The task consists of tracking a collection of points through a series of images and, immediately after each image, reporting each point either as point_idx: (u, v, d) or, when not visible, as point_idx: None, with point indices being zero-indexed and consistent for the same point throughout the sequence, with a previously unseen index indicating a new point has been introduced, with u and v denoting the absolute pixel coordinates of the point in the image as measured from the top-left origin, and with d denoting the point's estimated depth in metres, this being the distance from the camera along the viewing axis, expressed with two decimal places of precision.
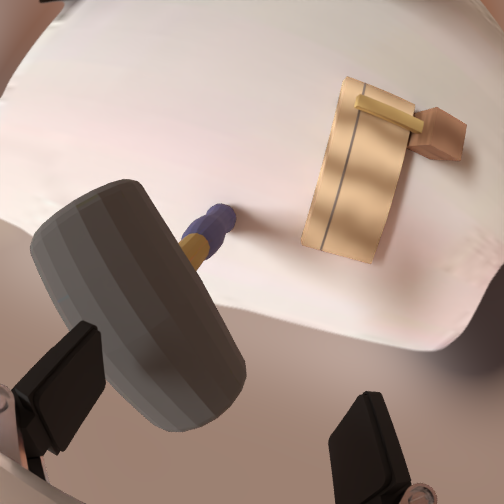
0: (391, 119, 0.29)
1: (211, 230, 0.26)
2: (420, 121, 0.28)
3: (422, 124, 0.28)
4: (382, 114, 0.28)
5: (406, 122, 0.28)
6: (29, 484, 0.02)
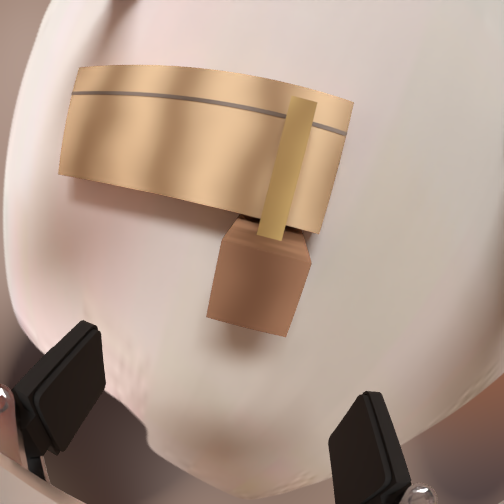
0: (274, 166, 0.17)
1: None
2: (280, 232, 0.18)
3: (275, 237, 0.18)
4: (281, 144, 0.16)
5: (272, 199, 0.17)
6: (29, 484, 0.02)
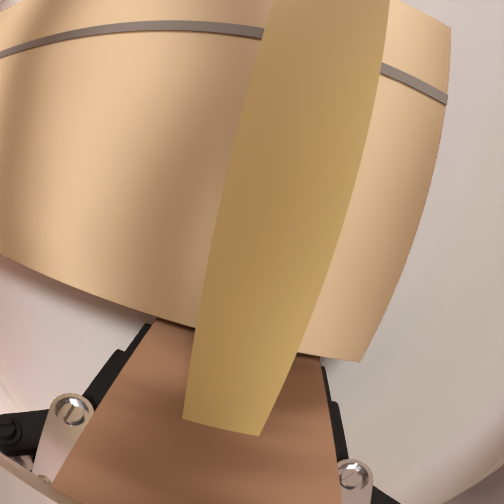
0: None
1: None
2: (254, 421, 0.05)
3: (239, 429, 0.05)
4: (255, 94, 0.03)
5: (221, 333, 0.04)
6: (29, 484, 0.02)
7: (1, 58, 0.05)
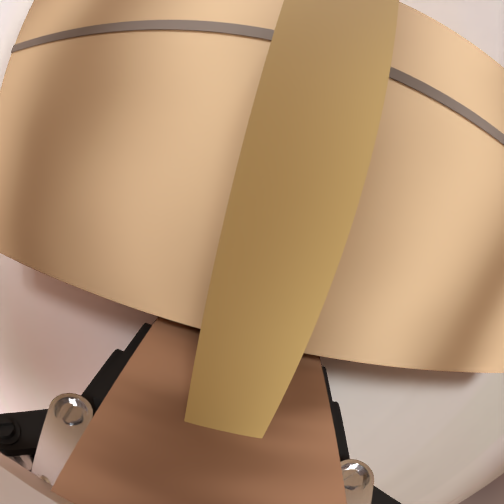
0: None
1: None
2: (258, 423, 0.05)
3: (242, 431, 0.05)
4: (265, 91, 0.03)
5: (227, 334, 0.04)
6: (29, 484, 0.02)
7: (250, 38, 0.05)
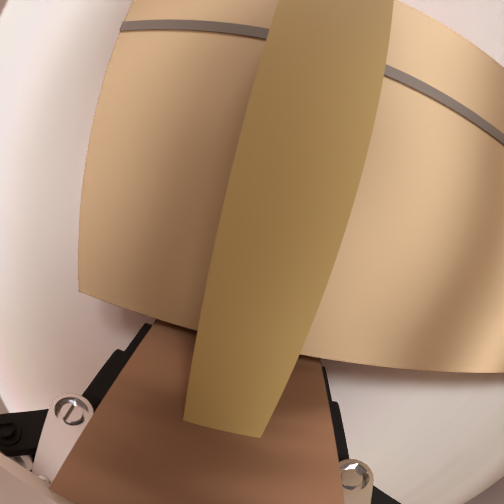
0: None
1: None
2: (256, 422, 0.05)
3: (241, 430, 0.05)
4: (260, 92, 0.03)
5: (224, 333, 0.04)
6: (29, 484, 0.02)
7: (453, 111, 0.05)
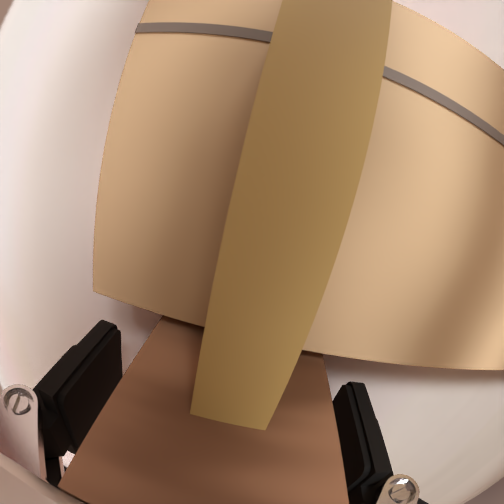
0: None
1: None
2: (261, 415, 0.05)
3: (246, 422, 0.05)
4: (265, 97, 0.03)
5: (231, 328, 0.04)
6: (29, 484, 0.02)
7: (460, 117, 0.05)
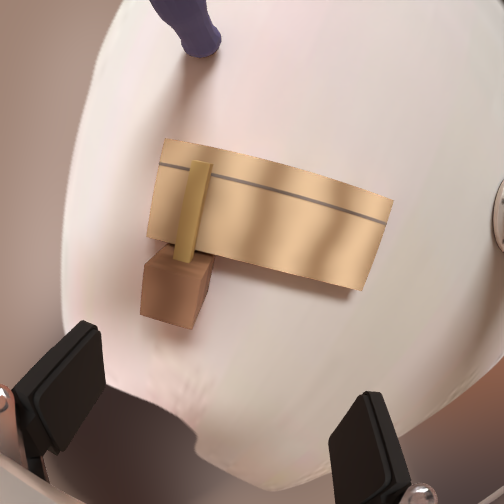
0: None
1: None
2: (188, 257, 0.25)
3: (185, 260, 0.26)
4: (185, 196, 0.24)
5: (181, 234, 0.25)
6: (29, 484, 0.02)
7: (246, 184, 0.26)
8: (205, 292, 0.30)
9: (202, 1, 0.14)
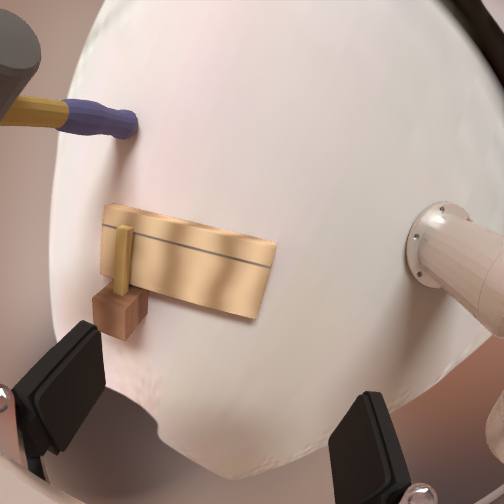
0: None
1: (77, 125, 0.21)
2: (122, 292, 0.34)
3: (120, 294, 0.35)
4: (115, 252, 0.33)
5: (116, 277, 0.34)
6: (29, 484, 0.02)
7: (158, 240, 0.35)
8: (142, 313, 0.39)
9: (98, 118, 0.23)
